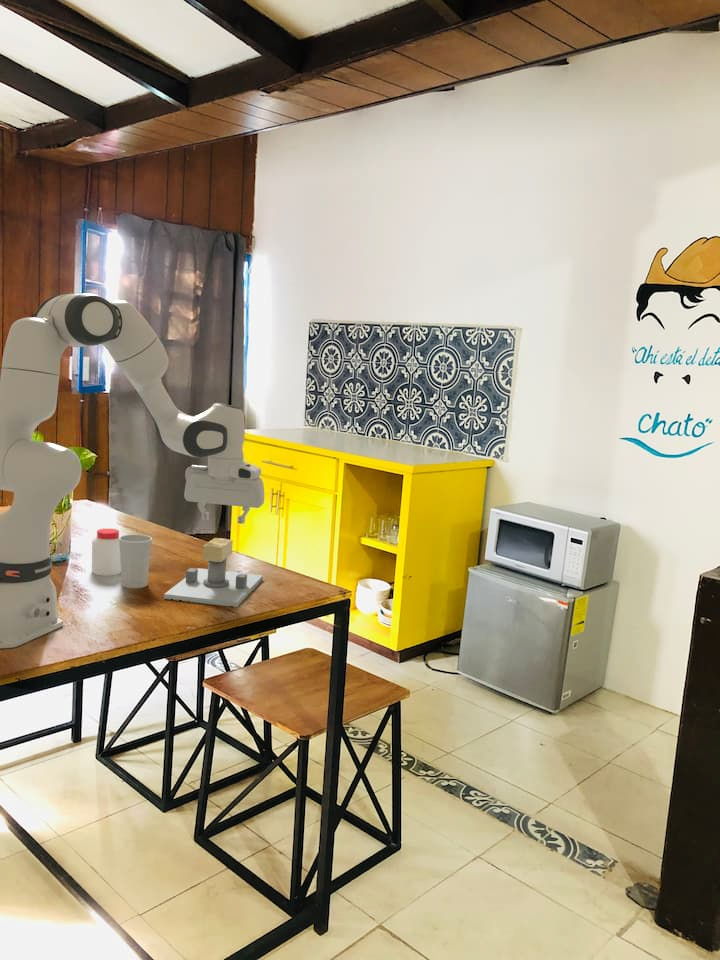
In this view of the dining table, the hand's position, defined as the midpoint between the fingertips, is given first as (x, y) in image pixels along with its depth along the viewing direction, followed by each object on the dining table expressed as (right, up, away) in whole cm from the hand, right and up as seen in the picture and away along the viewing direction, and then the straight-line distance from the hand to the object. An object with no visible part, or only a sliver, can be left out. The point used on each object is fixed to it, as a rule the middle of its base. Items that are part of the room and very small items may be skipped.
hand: (223, 521), depth 201 cm
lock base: (-2, -17, -1) cm, 17 cm away
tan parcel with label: (-1, -10, -2) cm, 10 cm away
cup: (-22, -16, -2) cm, 27 cm away
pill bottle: (-32, -14, +7) cm, 35 cm away
